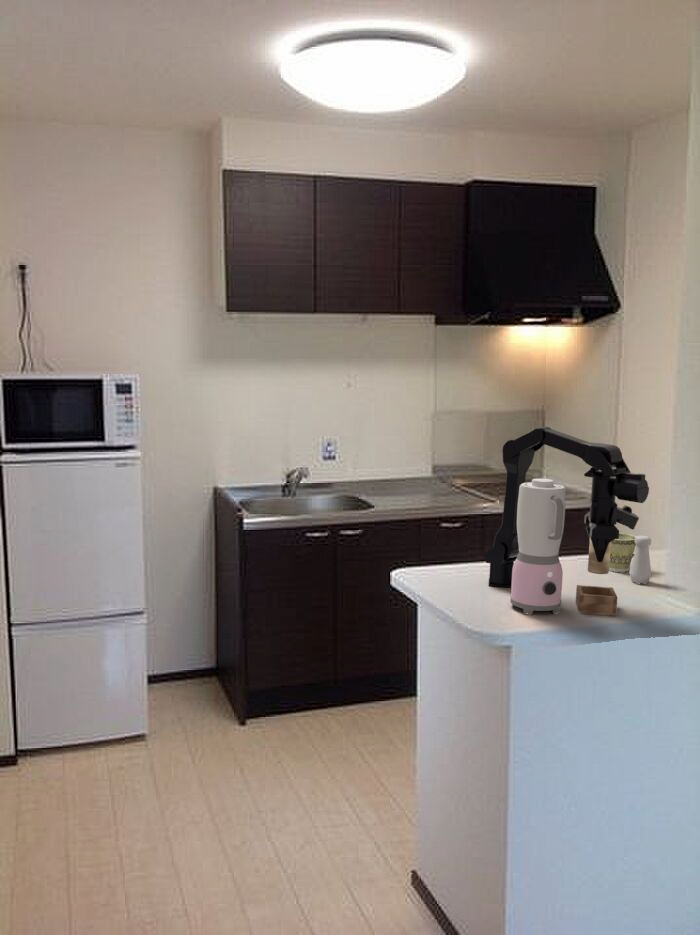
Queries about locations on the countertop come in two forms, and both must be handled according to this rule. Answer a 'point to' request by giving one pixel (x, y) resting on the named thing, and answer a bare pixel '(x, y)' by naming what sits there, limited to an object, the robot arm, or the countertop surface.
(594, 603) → the wooden square box
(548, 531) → the blender
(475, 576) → the countertop surface
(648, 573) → the salt shaker
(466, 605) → the countertop surface
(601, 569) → the beech peg
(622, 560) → the ceramic cup
